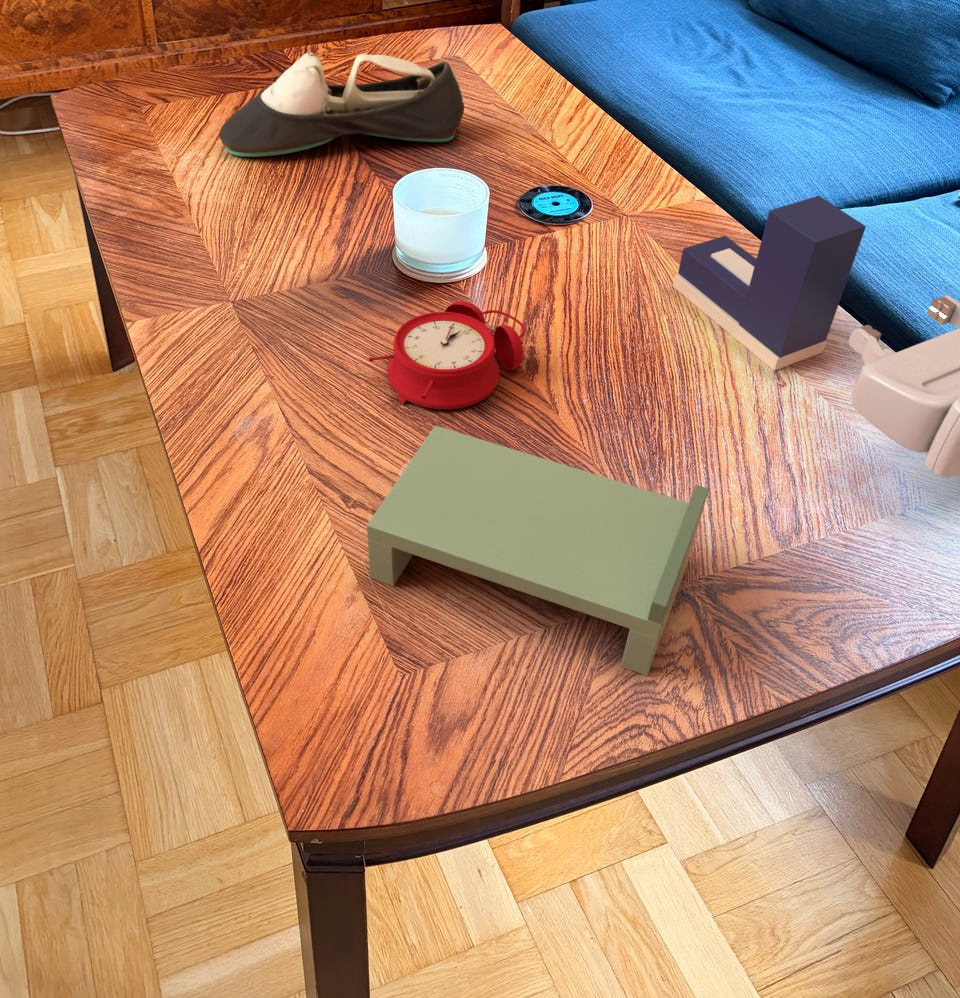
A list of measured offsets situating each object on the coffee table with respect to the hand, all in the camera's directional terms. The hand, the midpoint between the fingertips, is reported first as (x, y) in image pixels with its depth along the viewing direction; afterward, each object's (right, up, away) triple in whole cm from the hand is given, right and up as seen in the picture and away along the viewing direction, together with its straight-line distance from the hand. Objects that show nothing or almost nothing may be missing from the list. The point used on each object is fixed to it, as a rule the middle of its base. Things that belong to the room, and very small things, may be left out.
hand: (896, 318), depth 86 cm
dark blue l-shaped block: (-9, +3, +16) cm, 19 cm away
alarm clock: (-38, -3, +9) cm, 39 cm away
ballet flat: (-53, +29, +40) cm, 73 cm away
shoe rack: (-32, -21, -8) cm, 39 cm away
